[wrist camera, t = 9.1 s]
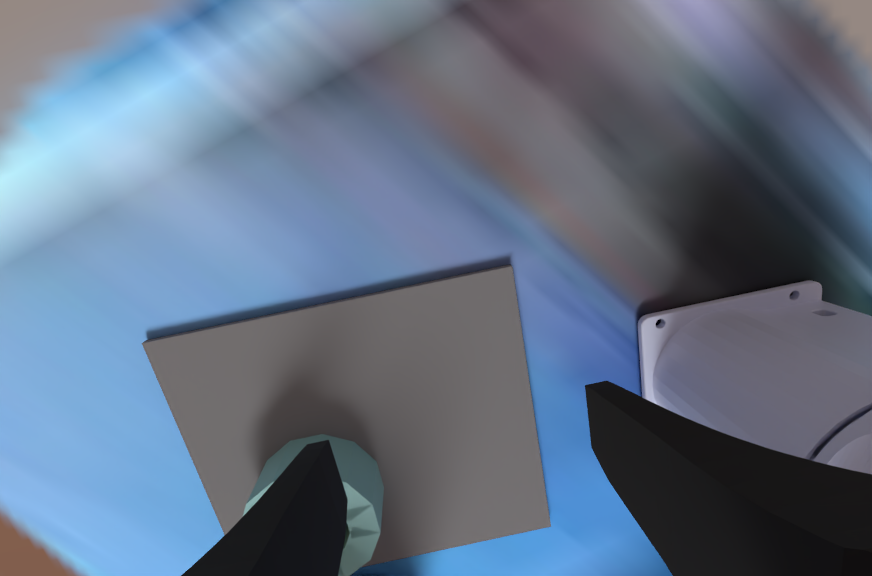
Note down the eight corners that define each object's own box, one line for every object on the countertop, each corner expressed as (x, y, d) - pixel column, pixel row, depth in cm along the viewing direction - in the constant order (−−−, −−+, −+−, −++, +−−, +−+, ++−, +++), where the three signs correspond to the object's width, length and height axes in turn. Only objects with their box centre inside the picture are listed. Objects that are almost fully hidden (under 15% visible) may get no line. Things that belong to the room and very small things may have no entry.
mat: (510, 264, 20) (512, 266, 20) (548, 520, 25) (550, 526, 25) (146, 340, 20) (141, 343, 20) (251, 584, 25) (249, 591, 24)
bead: (366, 424, 22) (360, 463, 19) (393, 520, 24) (391, 569, 21) (245, 450, 22) (221, 493, 19) (282, 544, 24) (264, 596, 21)
